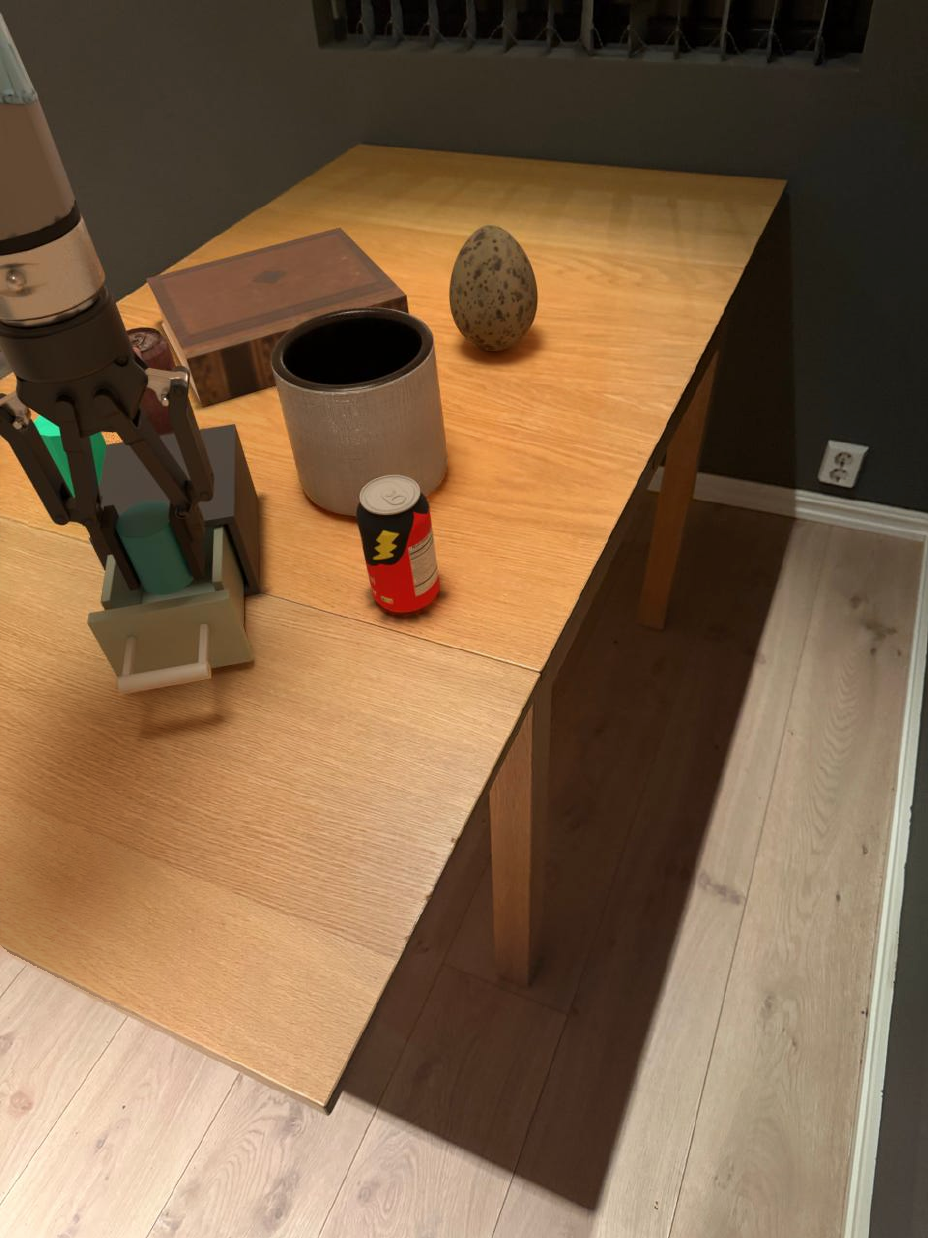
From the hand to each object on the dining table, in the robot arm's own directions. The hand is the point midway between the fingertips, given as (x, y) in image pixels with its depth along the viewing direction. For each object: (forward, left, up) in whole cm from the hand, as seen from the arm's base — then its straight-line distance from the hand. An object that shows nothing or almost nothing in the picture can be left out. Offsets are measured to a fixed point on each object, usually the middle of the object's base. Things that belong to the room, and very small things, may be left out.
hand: (168, 572), depth 71 cm
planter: (+18, +23, -11) cm, 31 cm away
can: (-4, +34, -11) cm, 36 cm away
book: (+9, +58, -11) cm, 59 cm away
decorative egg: (+36, +46, -11) cm, 59 cm away
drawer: (-1, +2, -10) cm, 10 cm away
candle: (-12, +27, -11) cm, 31 cm away
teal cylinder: (0, 0, 0) cm, 0 cm away
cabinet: (-1, +15, -11) cm, 18 cm away
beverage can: (+19, +4, -11) cm, 22 cm away
